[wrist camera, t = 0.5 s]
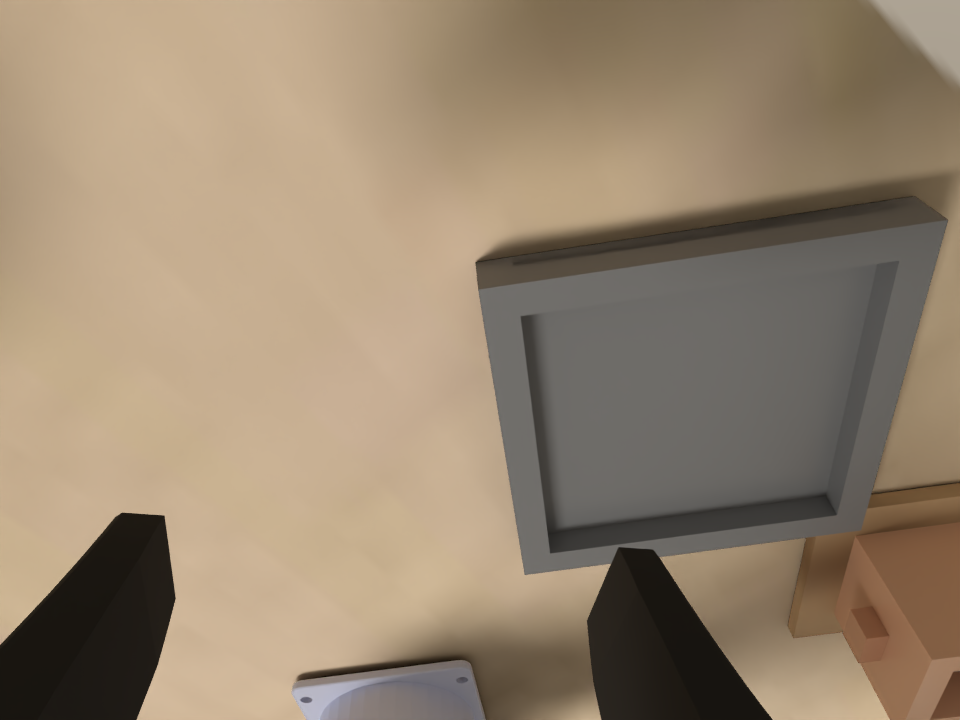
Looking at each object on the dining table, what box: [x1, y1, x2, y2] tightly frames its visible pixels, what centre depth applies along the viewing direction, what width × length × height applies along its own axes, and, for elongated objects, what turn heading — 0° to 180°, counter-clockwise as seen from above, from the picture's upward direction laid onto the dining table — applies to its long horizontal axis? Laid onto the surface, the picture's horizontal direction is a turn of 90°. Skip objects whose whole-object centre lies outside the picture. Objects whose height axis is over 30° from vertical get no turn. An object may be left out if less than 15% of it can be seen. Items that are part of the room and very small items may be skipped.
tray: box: [476, 196, 948, 575], centre depth 22 cm, size 12×12×2 cm
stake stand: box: [788, 483, 960, 672], centre depth 26 cm, size 8×8×4 cm
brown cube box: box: [834, 522, 960, 720], centre depth 26 cm, size 5×6×5 cm
